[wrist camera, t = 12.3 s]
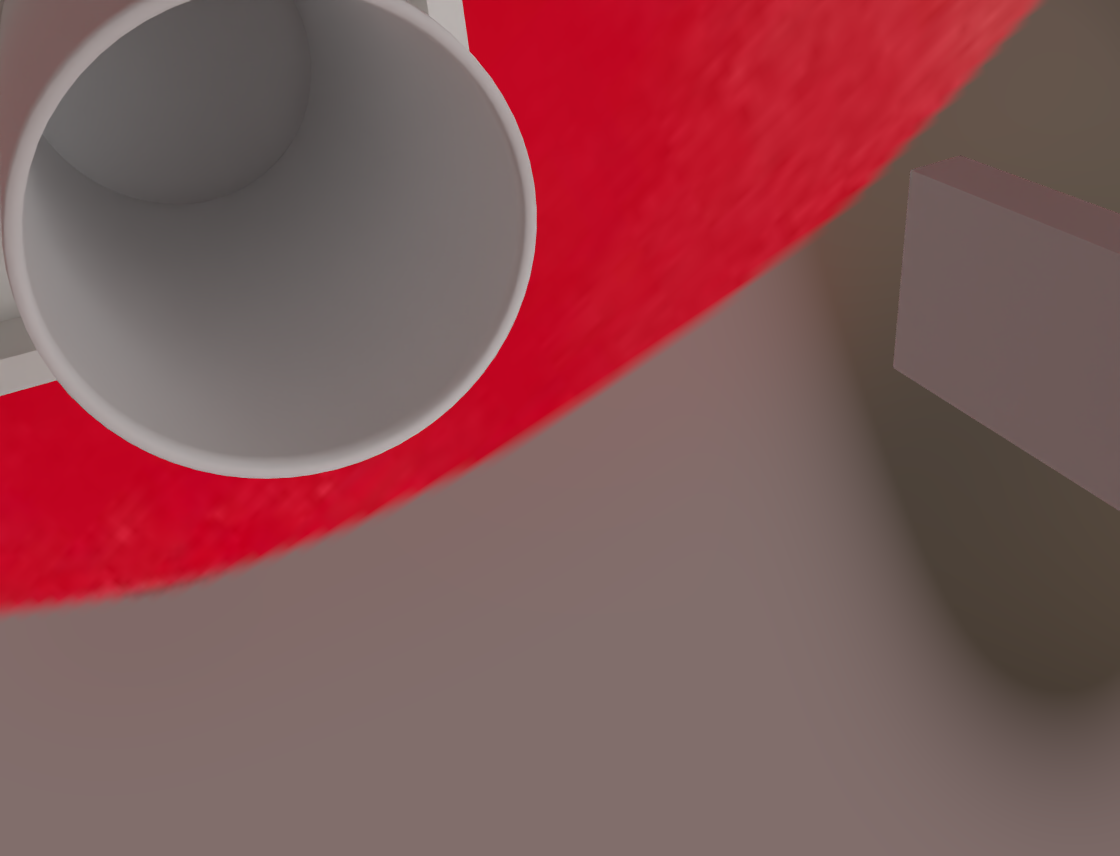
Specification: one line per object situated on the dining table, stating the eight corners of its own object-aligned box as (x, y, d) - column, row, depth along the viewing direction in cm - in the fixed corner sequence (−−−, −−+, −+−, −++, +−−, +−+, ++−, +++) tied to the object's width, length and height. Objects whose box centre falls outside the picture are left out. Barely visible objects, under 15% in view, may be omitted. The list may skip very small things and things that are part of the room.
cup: (210, -164, 27) (396, -148, 14) (367, 117, 32) (607, 312, 19) (-77, -4, 26) (-148, 166, 13) (131, 261, 31) (222, 565, 18)
